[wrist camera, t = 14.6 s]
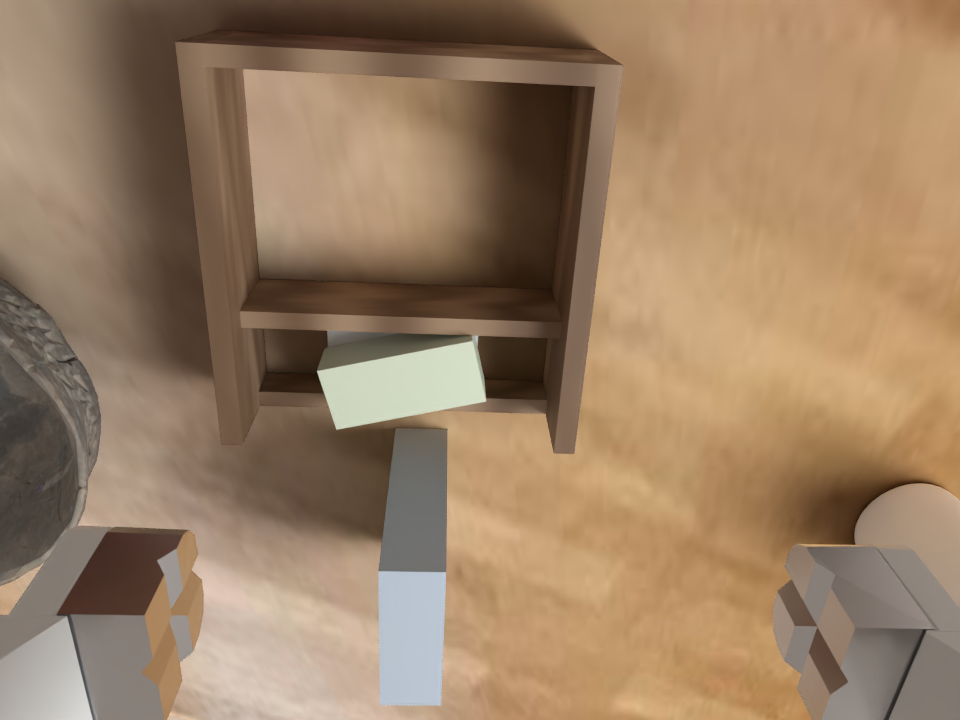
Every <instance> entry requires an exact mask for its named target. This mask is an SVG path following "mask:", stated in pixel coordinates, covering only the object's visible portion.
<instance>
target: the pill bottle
mask: <svg viewBox="0 0 960 720" xmlns="http://www.w3.org/2000/svg"><path fill="white" fill-rule="evenodd" d="M854 539H855V545H867V544H904V545H906V546H908V547H910V548H911V549H913V550H914V551H915V552H916V554H917V555H918V556H919V558H920V559H921V560H922V561H923V563H924V564H925V565H926V566H927V568H928V569H929V570H930V571H931V573H932V574H933V575H934V577H935V578H936V579H937V580H938V582H939V583H940V584H941V585H942V587H943V588H944V589H945V591H946V592H947V593H948V594H949V596H950V597H951V598H952V599H953V601H954V602H955V603H956V604H957V606H958V607H959V608H960V500H959V499H957V498H956V497H955V496H954V495H953V494H951V493H950V492H948V491H947V490H945V489H943V488H941V487H938V486H935V485H931V484H924V483H915V484H908V485H903V486H899V487H896V488H894V489H891V490H889V491H887V492H885V493H883V494H882V495H880V496H879V497H877V498H876V499H875V500H873V501H872V502H871V503H870V504H869V505H868V506H867V507H866V508H865V510H864V511H863V512H862V514H861V515H860V517H859V519H858V521H857V524H856V527H855V533H854Z"/></svg>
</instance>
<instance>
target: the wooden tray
mask: <svg viewBox="0 0 960 720" xmlns="http://www.w3.org/2000/svg"><path fill="white" fill-rule="evenodd" d="M175 46H176V55H177V64H178V72H179V81H180V90H181V98H182V107H183V116H184V124H185V133H186V142H187V150H188V159H189V168H190V176H191V185H192V194H193V202H194V211H195V220H196V229H197V237H198V246H199V255H200V263H201V272H202V281H203V289H204V298H205V307H206V315H207V324H208V333H209V341H210V350H211V359H212V367H213V376H214V385H215V393H216V402H217V411H218V420H219V428H220V437H221V445H243V443H244V441H245V438H246V436H247V434H248V432H249V429H250V427H251V425H252V422H253V420H254V418H255V415H256V413H257V411H258V408H259V406H293V407H327V408H329V406H328V403H327V400H326V397H325V394H324V391H323V388H322V385H321V382H320V379H319V376H318V374H292V373H267V365H266V353H265V340H264V328H265V329H294V330H324V331H353V332H382V333H412V334H441V335H471V336H500V337H529V338H547V347H546V357H545V367H544V377H543V381H516V380H484V381H485V394H486V402H481V403H476V404H471V405H465V406H460V407H455V408H449V409H444V410H439V411H465V412H500V413H534V414H546V418H547V423H548V427H549V432H550V437H551V442H552V447H553V452H554V453H561V454H574V451H575V443H576V435H577V427H578V420H579V412H580V404H581V396H582V388H583V380H584V372H585V365H586V357H587V349H588V341H589V333H590V325H591V317H592V309H593V302H594V294H595V286H596V278H597V270H598V262H599V254H600V247H601V239H602V231H603V223H604V215H605V207H606V199H607V192H608V184H609V176H610V168H611V160H612V152H613V144H614V137H615V129H616V121H617V113H618V105H619V97H620V89H621V81H622V74H623V66H624V65H622V64H620V63H619V62H617V61H615V60H614V59H612V58H611V57H609V56H607V55H606V54H604V53H602V52H601V51H599V50H585V49H567V48H548V47H529V46H510V45H491V44H473V43H454V42H435V41H416V40H397V39H379V38H360V37H341V36H322V35H304V34H285V33H266V32H247V31H228V30H215V31H211V32H208V33H204V34H201V35H197V36H194V37H190V38H187V39H183V40H180V41H176V42H175ZM243 69H256V70H276V71H296V72H315V73H335V74H355V75H375V76H394V77H414V78H434V79H453V80H473V81H493V82H512V83H532V84H552V85H571V86H573V89H572V99H571V109H570V119H569V129H568V139H567V148H566V158H565V168H564V178H563V188H562V198H561V208H560V218H559V228H558V238H557V248H556V258H555V268H554V278H553V287H552V290H549V289H522V288H495V287H468V286H441V285H415V284H388V283H361V282H334V281H307V280H280V279H260V278H259V265H258V253H257V240H256V228H255V215H254V203H253V190H252V178H251V165H250V153H249V140H248V128H247V115H246V103H245V90H244V78H243Z"/></svg>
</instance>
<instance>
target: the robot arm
mask: <svg viewBox="0 0 960 720" xmlns="http://www.w3.org/2000/svg"><path fill="white" fill-rule="evenodd" d="M197 555H198V551H197V546H196V540H195V535H194V534H193V533H192V532H191V531H190V530H178V529H155V528H133V527H114V528H112V527H97V526H75V527H73V528H71V529H69V530H67V531H66V532H65V534H64V535H63V537H62V538H61V539H60V541H59V542H58V544H57V545H56V547H55V548H54V550H53V551H52V553H51V554H50V555H49V557H48V558H47V560H46V561H45V563H44V564H43V566H42V567H41V569H40V570H39V571H38V573H37V574H36V576H35V577H34V579H33V580H32V582H31V583H30V585H29V586H28V587H27V589H26V590H25V592H24V593H23V595H22V596H21V598H20V599H19V601H18V602H17V603H16V605H15V606H14V608H13V609H12V611H11V612H10V614H9V615H0V720H167V718H168V716H169V713H170V711H171V708H172V705H173V703H174V700H175V698H176V695H177V692H178V690H179V687H180V685H181V682H182V675H181V669H180V662H181V661H182V660H183V659H185V658H186V657H187V656H188V655H190V654H191V653H192V652H193V650H194V647H195V645H196V642H197V639H198V636H199V633H200V627H201V622H202V616H203V598H204V594H203V586H202V580H201V579H200V578H199V577H198V576H197V575H196V574H195V573H194V572H193V571H192V567H193V565H194V562H195V560H196V558H197ZM785 568H786V570H787V572H788V573H789V575H790V577H791V580H790V581H789V582H788V583H786V584H785V585H784V586H783V587H782V588H781V589H779V590H778V591H777V595H776V599H775V603H774V607H773V631H774V635H775V639H776V643H777V646H778V648H779V650H780V653H781V655H782V657H783V659H784V661H785V662H786V663H788V664H789V665H790V666H792V667H793V668H794V669H795V670H797V671H798V672H799V673H801V677H800V680H799V683H798V687H797V689H798V691H799V693H800V695H801V697H802V700H803V702H804V704H805V706H806V708H807V710H808V712H809V714H810V716H811V718H812V720H960V608H959V607H958V606H957V604H956V603H955V602H954V601H953V599H952V598H951V597H950V596H949V594H948V593H947V592H946V591H945V589H944V588H943V587H942V585H941V584H940V583H939V582H938V580H937V579H936V578H935V577H934V575H933V574H932V573H931V571H930V570H929V569H928V568H927V566H926V565H925V564H924V563H923V561H922V560H921V559H920V558H919V556H918V555H917V554H916V552H915V551H914V550H913V549H911V548H910V547H908V546H906V545H904V544H867V545H836V544H795V545H794V547H793V548H792V549H791V550H790V552H789V554H788V558H787V561H786V564H785Z"/></svg>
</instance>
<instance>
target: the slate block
mask: <svg viewBox="0 0 960 720" xmlns="http://www.w3.org/2000/svg"><path fill="white" fill-rule="evenodd" d="M446 528H447V429H419V428H396V430H395V438H394V446H393V455H392V463H391V471H390V479H389V488H388V496H387V504H386V513H385V521H384V529H383V538H382V546H381V554H380V563H379V571H378V574H379V660H380V705H441V690H442V664H443V639H444V613H445V587H446Z"/></svg>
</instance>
